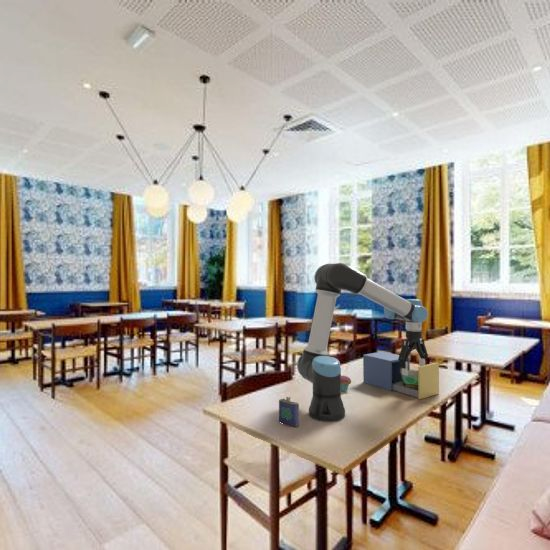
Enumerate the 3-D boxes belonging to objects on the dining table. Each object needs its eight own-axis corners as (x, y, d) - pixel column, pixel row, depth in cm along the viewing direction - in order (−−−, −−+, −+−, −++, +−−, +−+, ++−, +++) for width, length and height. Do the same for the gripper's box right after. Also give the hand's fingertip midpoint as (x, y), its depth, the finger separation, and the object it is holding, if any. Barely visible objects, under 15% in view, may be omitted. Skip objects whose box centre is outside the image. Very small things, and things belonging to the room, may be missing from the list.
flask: (300, 426, 146) (299, 398, 146) (295, 428, 143) (295, 400, 144) (281, 420, 152) (280, 393, 152) (276, 422, 149) (276, 395, 149)
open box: (390, 390, 190) (390, 360, 190) (363, 382, 205) (363, 354, 205) (409, 385, 198) (409, 357, 198) (382, 378, 213) (381, 351, 213)
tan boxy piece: (420, 399, 176) (419, 367, 176) (389, 390, 190) (389, 360, 190) (439, 393, 184) (438, 362, 184) (408, 385, 198) (408, 356, 198)
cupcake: (331, 390, 190) (331, 367, 190) (337, 386, 198) (337, 363, 198) (348, 393, 186) (348, 368, 186) (353, 388, 194) (353, 365, 194)
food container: (399, 390, 186) (398, 370, 186) (399, 387, 191) (399, 367, 191) (425, 393, 181) (425, 372, 181) (425, 389, 187) (425, 369, 187)
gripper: (403, 333, 177) (403, 378, 177) (435, 329, 191) (435, 371, 190) (390, 331, 183) (390, 374, 183) (422, 327, 197) (422, 368, 197)
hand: (413, 373), depth 187 cm, fingers open, 13 cm apart
